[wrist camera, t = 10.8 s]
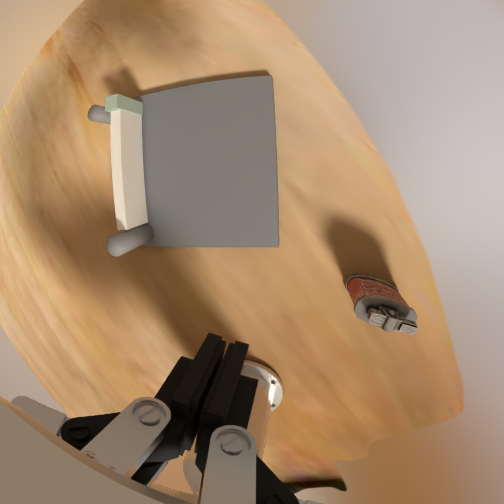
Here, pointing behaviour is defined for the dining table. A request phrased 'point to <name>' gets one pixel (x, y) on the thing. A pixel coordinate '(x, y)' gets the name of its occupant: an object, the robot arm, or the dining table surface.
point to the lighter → (380, 304)
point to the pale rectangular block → (127, 161)
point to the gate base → (206, 166)
